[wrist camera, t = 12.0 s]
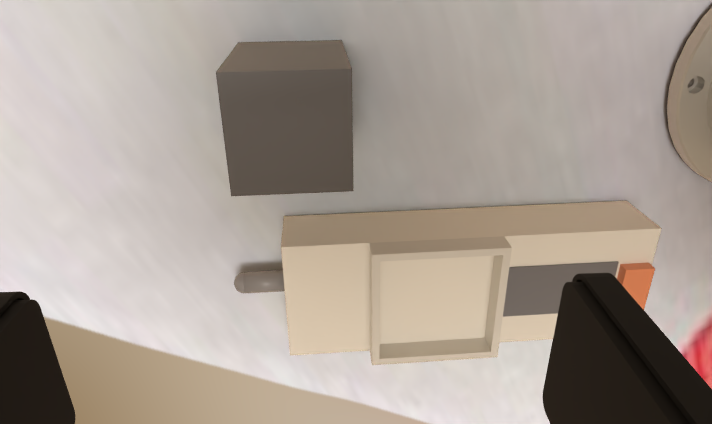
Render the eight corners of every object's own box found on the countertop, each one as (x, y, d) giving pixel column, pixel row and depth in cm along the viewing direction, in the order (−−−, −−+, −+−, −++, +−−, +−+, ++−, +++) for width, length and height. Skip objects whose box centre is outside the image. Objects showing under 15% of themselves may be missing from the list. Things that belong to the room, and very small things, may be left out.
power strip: (626, 200, 32) (675, 239, 27) (603, 298, 35) (644, 347, 30) (229, 218, 30) (216, 262, 26) (242, 319, 33) (233, 373, 29)
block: (341, 40, 26) (351, 68, 20) (343, 139, 29) (353, 192, 22) (238, 42, 26) (216, 72, 20) (248, 142, 28) (231, 197, 22)
